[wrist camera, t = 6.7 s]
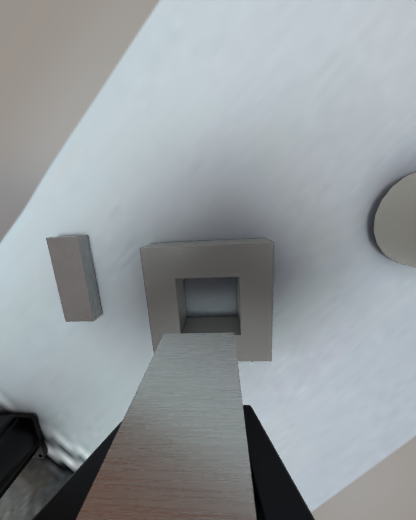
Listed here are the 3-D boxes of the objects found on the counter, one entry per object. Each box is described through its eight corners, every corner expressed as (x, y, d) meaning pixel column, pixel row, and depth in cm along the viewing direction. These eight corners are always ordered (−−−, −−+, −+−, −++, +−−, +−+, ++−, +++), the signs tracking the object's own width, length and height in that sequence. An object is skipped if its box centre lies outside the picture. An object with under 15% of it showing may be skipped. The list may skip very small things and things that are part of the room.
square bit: (235, 391, 10) (293, 1028, 2) (170, 390, 10) (10, 965, 2) (234, 332, 9) (312, 983, 1) (163, 333, 9) (-104, 897, 2)
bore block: (263, 338, 19) (271, 361, 16) (164, 339, 20) (155, 361, 17) (264, 237, 17) (273, 242, 14) (153, 243, 18) (139, 248, 15)
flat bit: (104, 311, 20) (93, 321, 18) (78, 312, 20) (65, 321, 18) (90, 234, 18) (76, 236, 16) (62, 235, 18) (45, 237, 17)
